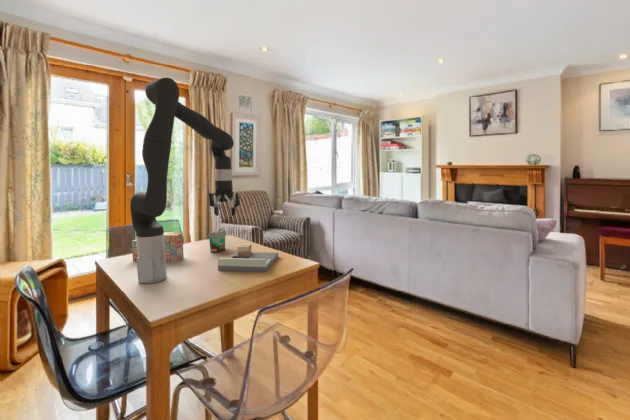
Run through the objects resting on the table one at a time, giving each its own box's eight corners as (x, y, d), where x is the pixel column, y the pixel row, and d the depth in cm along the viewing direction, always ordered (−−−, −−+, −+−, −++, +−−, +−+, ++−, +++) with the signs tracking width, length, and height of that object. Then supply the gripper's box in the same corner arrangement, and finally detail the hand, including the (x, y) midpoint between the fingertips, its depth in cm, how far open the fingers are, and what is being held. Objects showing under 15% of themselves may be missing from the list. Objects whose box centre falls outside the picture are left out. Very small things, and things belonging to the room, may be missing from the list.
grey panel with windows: (265, 271, 133) (265, 259, 132) (218, 270, 135) (217, 258, 134) (278, 256, 154) (278, 246, 154) (237, 255, 157) (236, 245, 156)
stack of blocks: (132, 261, 150) (130, 234, 148) (140, 257, 156) (138, 231, 154) (177, 261, 148) (175, 235, 146) (184, 258, 154) (182, 232, 153)
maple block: (248, 255, 150) (248, 246, 149) (237, 255, 150) (237, 246, 150) (251, 252, 155) (251, 244, 154) (241, 252, 155) (241, 244, 155)
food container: (221, 253, 161) (220, 233, 159) (209, 253, 162) (208, 233, 160) (231, 247, 173) (230, 228, 171) (220, 247, 174) (219, 228, 172)
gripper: (204, 179, 146) (206, 216, 148) (236, 179, 145) (237, 217, 147) (211, 179, 154) (213, 214, 156) (241, 179, 152) (243, 214, 154)
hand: (225, 215), depth 151 cm, fingers open, 7 cm apart
